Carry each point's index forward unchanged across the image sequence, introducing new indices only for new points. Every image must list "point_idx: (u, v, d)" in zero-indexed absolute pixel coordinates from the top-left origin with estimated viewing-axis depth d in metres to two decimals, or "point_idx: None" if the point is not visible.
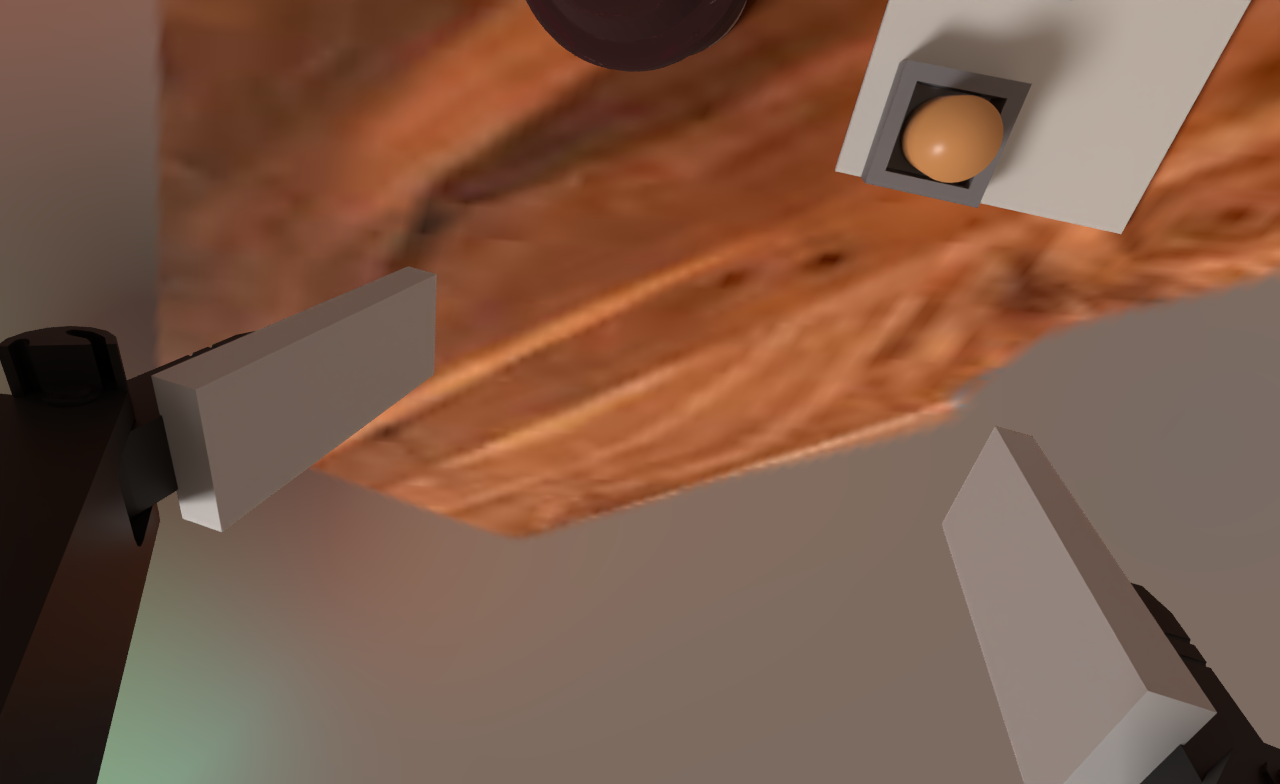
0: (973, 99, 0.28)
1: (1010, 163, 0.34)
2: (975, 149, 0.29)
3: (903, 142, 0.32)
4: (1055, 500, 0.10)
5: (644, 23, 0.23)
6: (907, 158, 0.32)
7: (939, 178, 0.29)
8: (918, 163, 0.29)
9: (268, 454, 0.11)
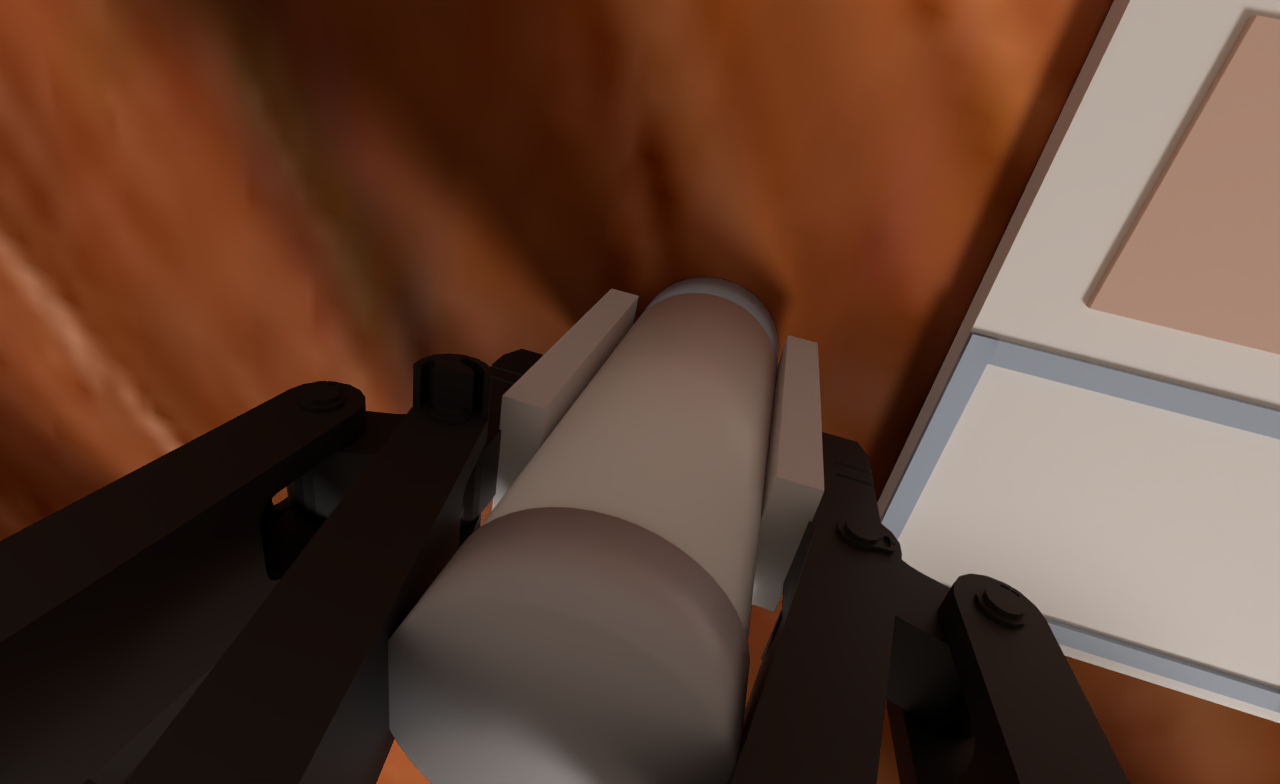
0: None
1: None
2: None
3: None
4: (800, 379, 0.13)
5: None
6: None
7: None
8: None
9: None
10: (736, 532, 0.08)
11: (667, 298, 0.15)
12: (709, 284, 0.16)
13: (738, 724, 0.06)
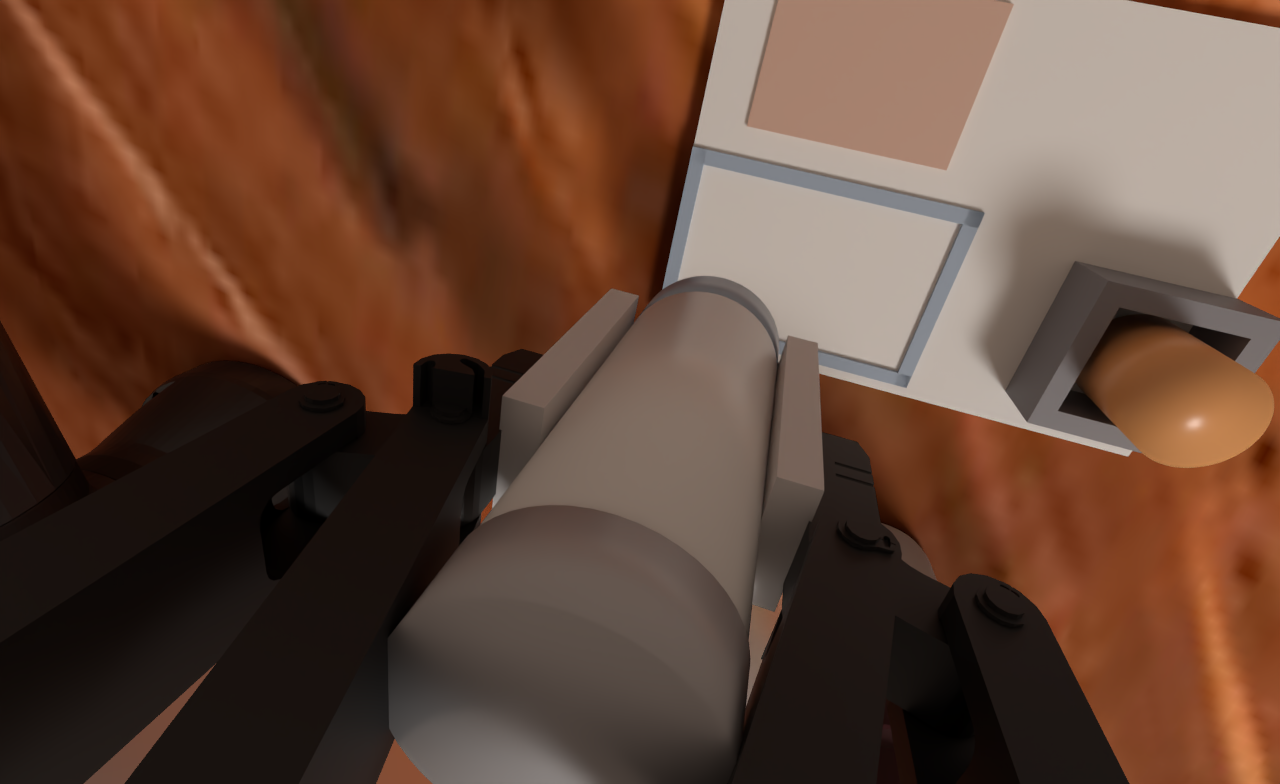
0: (1142, 403, 0.20)
1: (1196, 245, 0.23)
2: (1225, 396, 0.19)
3: None
4: (800, 379, 0.13)
5: None
6: None
7: (1255, 435, 0.20)
8: (1217, 461, 0.20)
9: None
10: (736, 530, 0.08)
11: (667, 297, 0.15)
12: (709, 283, 0.16)
13: (739, 723, 0.06)
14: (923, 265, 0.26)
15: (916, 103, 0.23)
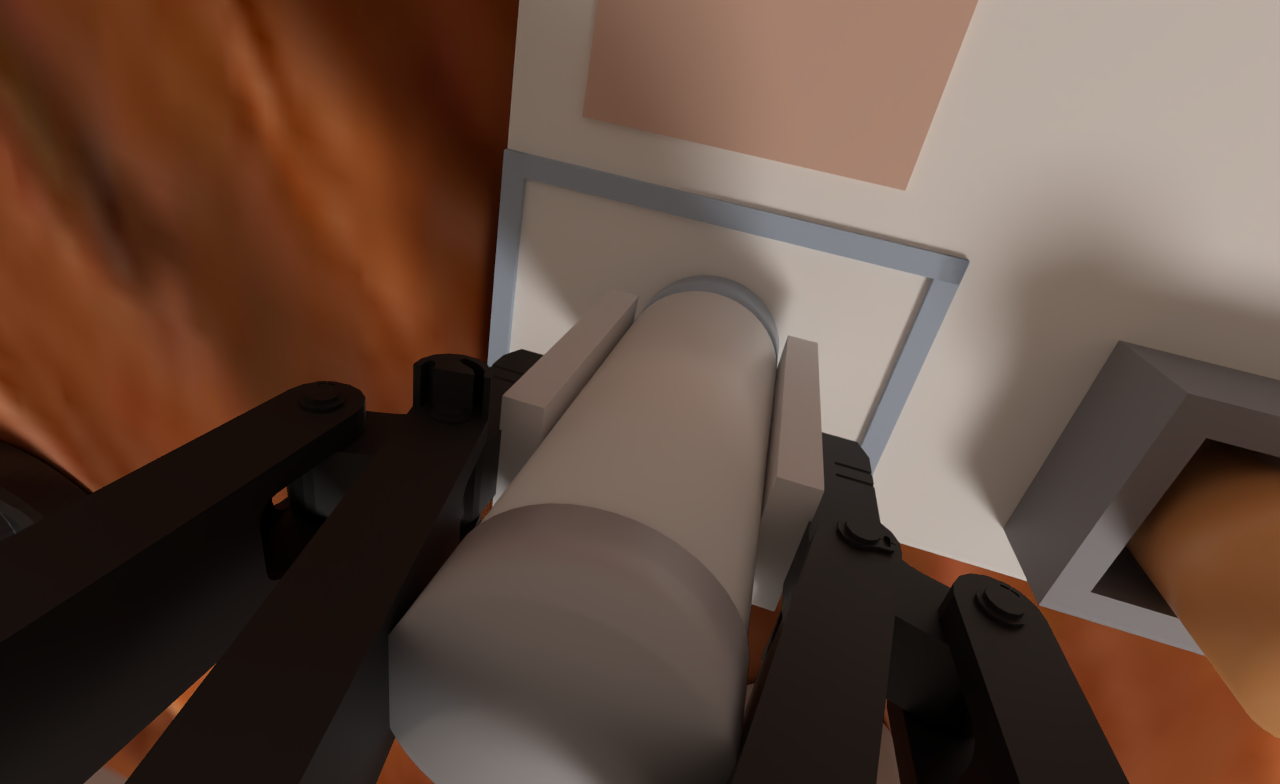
0: (1266, 647, 0.10)
1: None
2: None
3: None
4: (800, 379, 0.13)
5: None
6: None
7: None
8: None
9: None
10: (736, 528, 0.08)
11: (667, 296, 0.15)
12: (709, 282, 0.16)
13: (738, 720, 0.06)
14: (873, 340, 0.16)
15: (853, 78, 0.14)
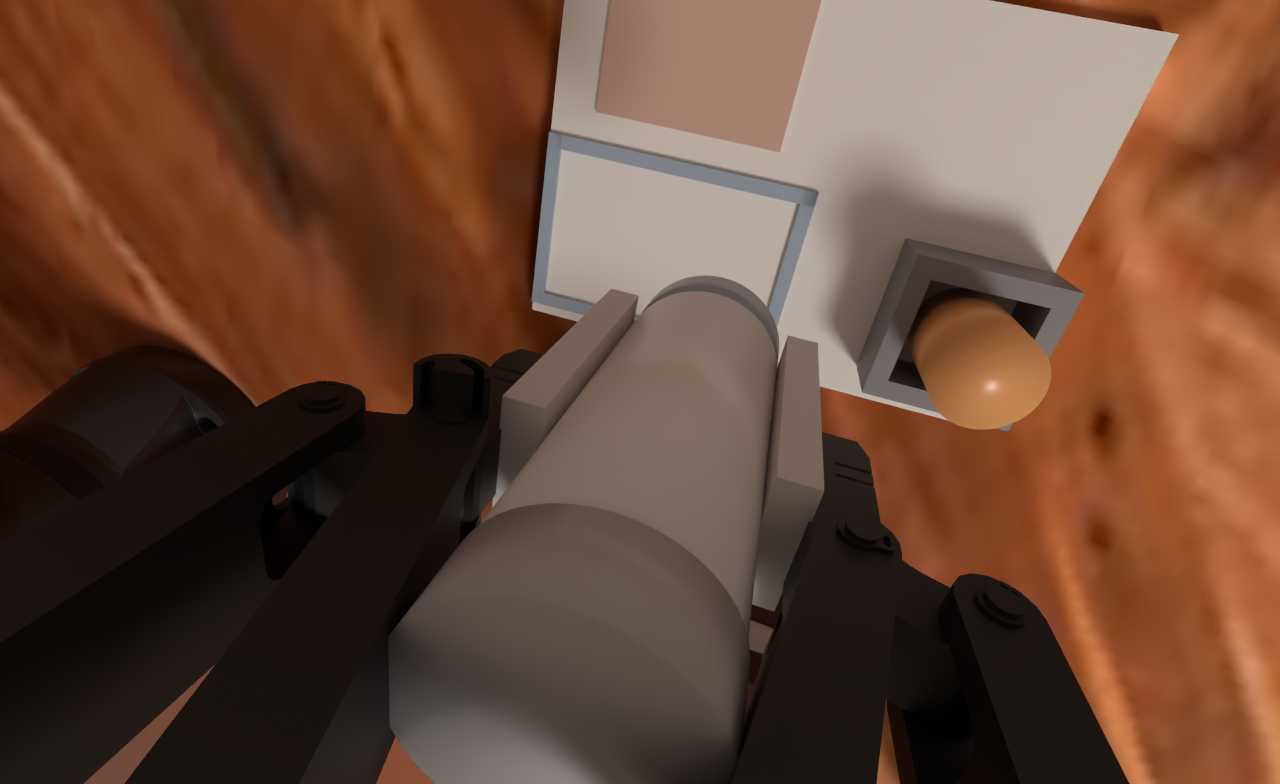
0: (936, 368, 0.21)
1: (1013, 222, 0.24)
2: (1007, 360, 0.21)
3: None
4: (800, 379, 0.13)
5: None
6: None
7: (1039, 397, 0.21)
8: (1009, 422, 0.21)
9: None
10: (737, 528, 0.08)
11: (667, 296, 0.15)
12: (710, 282, 0.16)
13: (739, 720, 0.06)
14: (770, 244, 0.27)
15: (747, 88, 0.24)
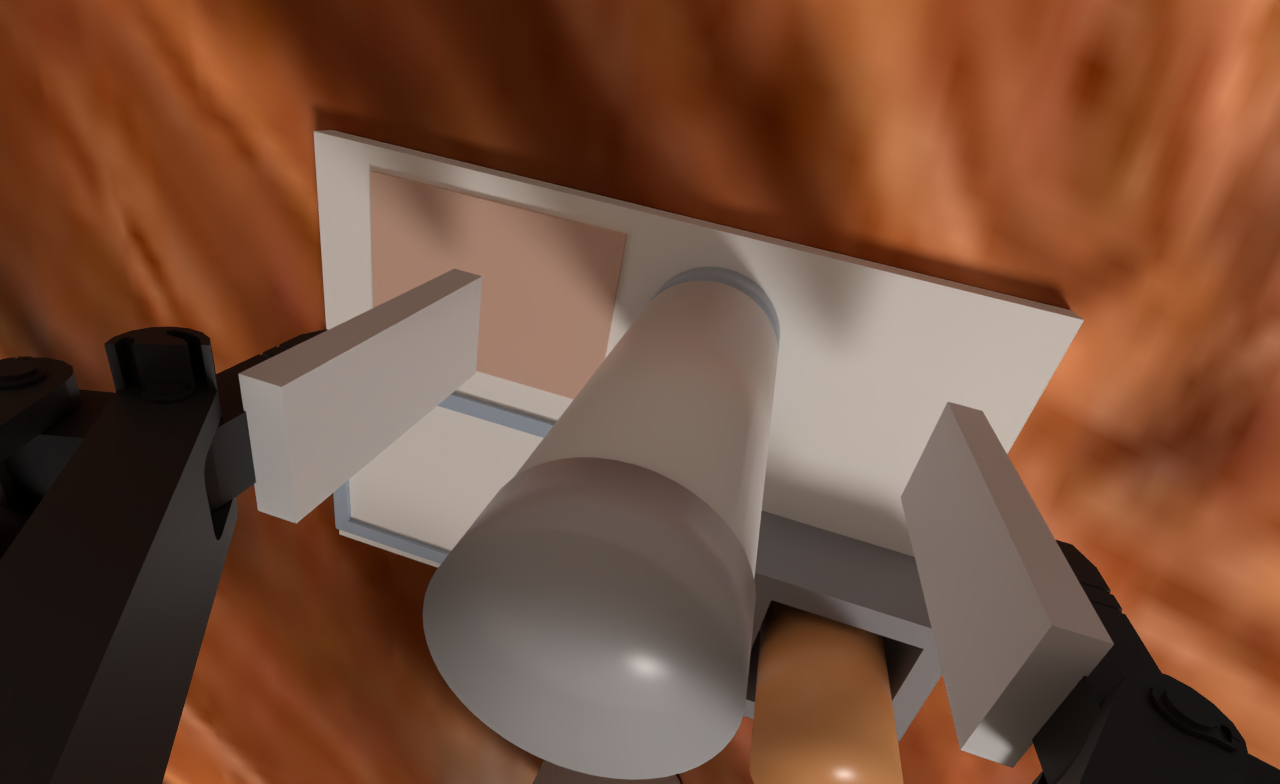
0: (757, 756, 0.16)
1: (887, 507, 0.19)
2: (846, 763, 0.15)
3: None
4: (994, 466, 0.11)
5: None
6: None
7: None
8: None
9: (337, 449, 0.11)
10: (744, 487, 0.09)
11: (674, 286, 0.16)
12: (714, 273, 0.16)
13: (747, 644, 0.07)
14: None
15: (550, 331, 0.19)
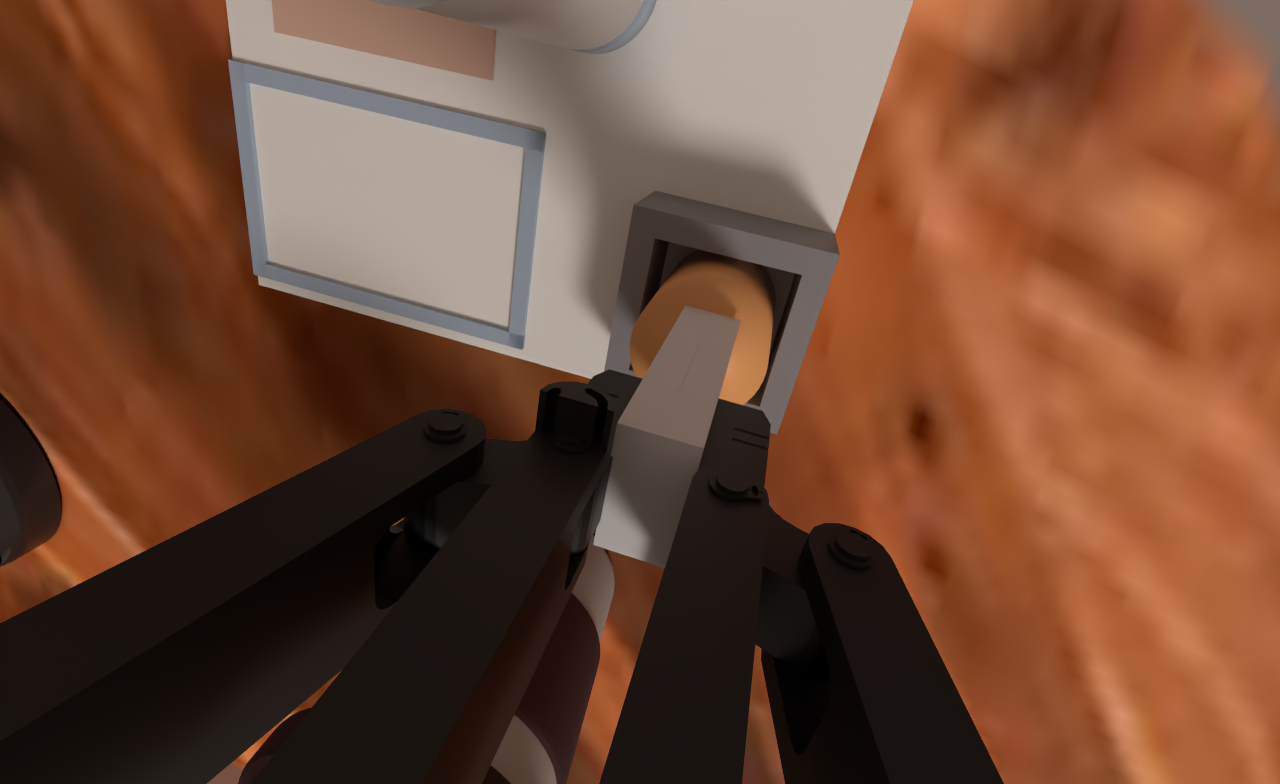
0: (635, 339, 0.17)
1: (776, 168, 0.19)
2: None
3: None
4: (712, 351, 0.13)
5: None
6: None
7: (760, 376, 0.16)
8: None
9: None
10: None
11: None
12: None
13: None
14: (502, 200, 0.22)
15: None
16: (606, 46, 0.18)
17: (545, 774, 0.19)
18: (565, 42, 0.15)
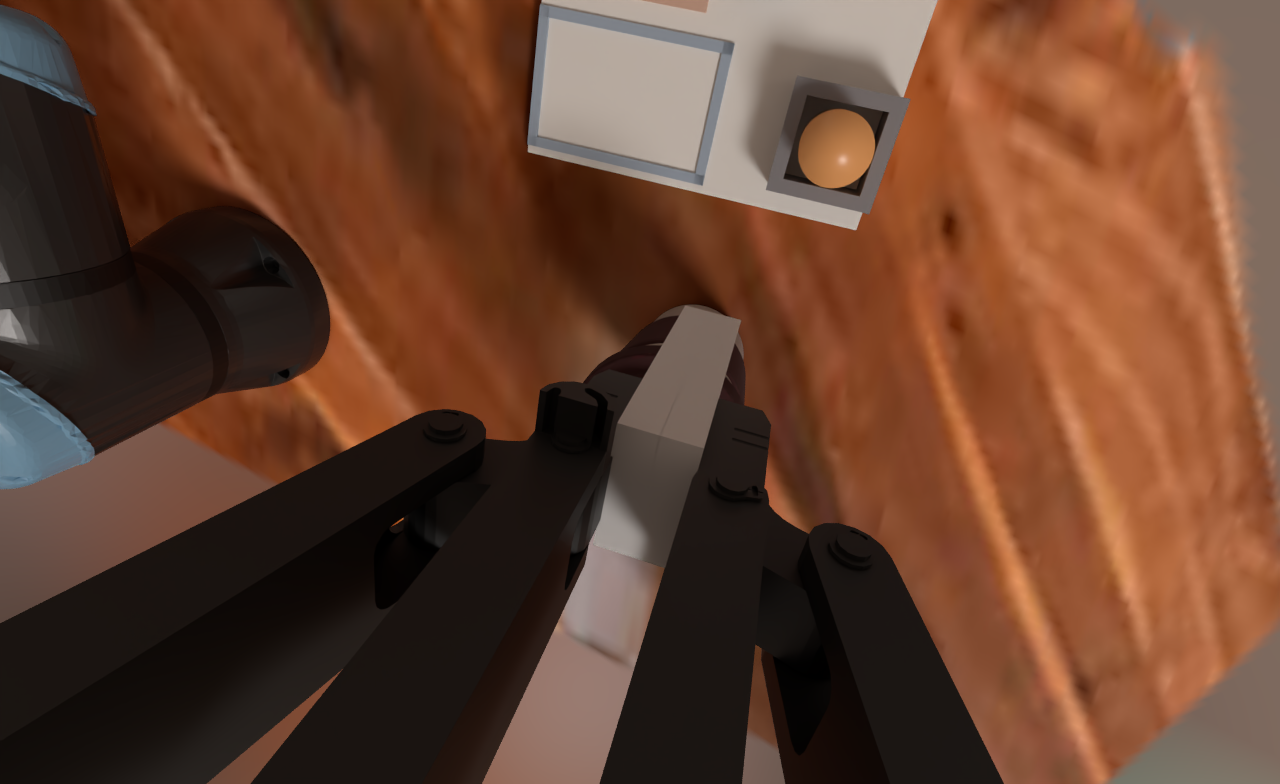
0: (802, 142, 0.32)
1: (870, 60, 0.34)
2: (846, 132, 0.31)
3: None
4: (712, 351, 0.13)
5: None
6: None
7: (869, 160, 0.31)
8: (852, 181, 0.32)
9: None
10: None
11: None
12: None
13: None
14: (702, 87, 0.37)
15: None
16: None
17: None
18: None
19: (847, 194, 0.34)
